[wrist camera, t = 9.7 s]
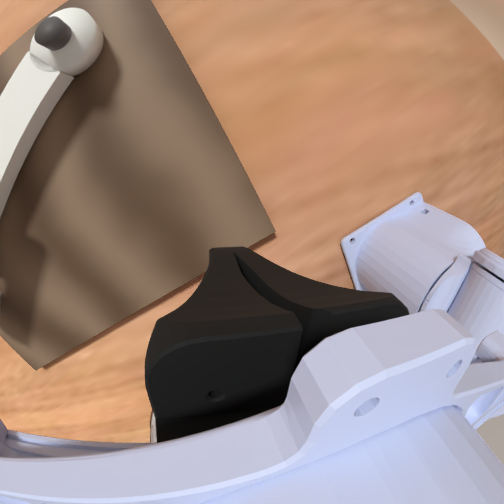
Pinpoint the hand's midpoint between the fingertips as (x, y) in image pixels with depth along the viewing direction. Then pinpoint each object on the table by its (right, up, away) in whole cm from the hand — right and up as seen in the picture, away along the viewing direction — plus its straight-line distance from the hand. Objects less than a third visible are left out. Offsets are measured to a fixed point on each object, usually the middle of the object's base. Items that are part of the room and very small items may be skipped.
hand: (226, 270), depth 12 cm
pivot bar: (-14, +8, +2) cm, 16 cm away
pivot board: (-13, +5, +5) cm, 15 cm away
